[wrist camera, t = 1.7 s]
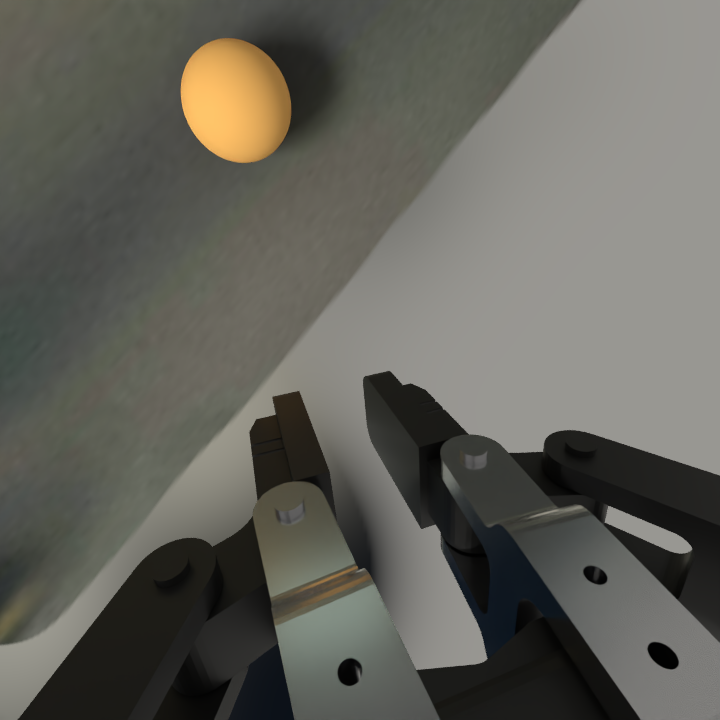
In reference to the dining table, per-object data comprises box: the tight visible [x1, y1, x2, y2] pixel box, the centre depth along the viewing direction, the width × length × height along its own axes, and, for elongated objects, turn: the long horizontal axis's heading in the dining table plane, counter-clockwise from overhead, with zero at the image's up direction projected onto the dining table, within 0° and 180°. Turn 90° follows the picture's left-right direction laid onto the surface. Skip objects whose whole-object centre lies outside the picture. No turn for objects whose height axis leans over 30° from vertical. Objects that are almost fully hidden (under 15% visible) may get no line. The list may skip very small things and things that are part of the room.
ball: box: [181, 38, 291, 163], centre depth 22 cm, size 6×6×6 cm
